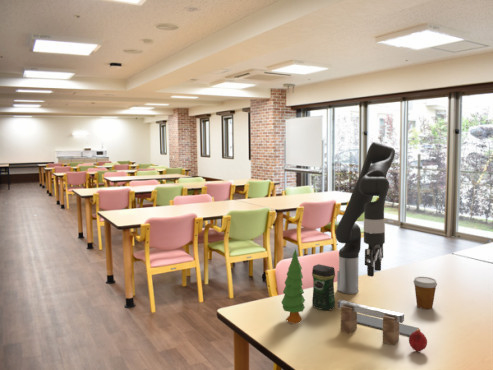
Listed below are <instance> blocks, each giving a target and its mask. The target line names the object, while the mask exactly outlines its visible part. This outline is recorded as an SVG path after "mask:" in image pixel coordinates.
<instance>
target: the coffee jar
mask: <svg viewBox="0 0 493 370" xmlns="http://www.w3.org/2000/svg"><path fill="white" fill-rule="evenodd" d="M311 275H312V276H311V277H312V280H313V281H312V282H313V287H312V300H311V304H312V307H314V308H317V309H320V310H324V311H329V310H333V309H334V308H335V307H336V297H335V287H334V281H335V278H336V271H335V267H334V266H328V265H325V264H320V263H318V264H315V265H313V267H312V272H311Z"/></svg>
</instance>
